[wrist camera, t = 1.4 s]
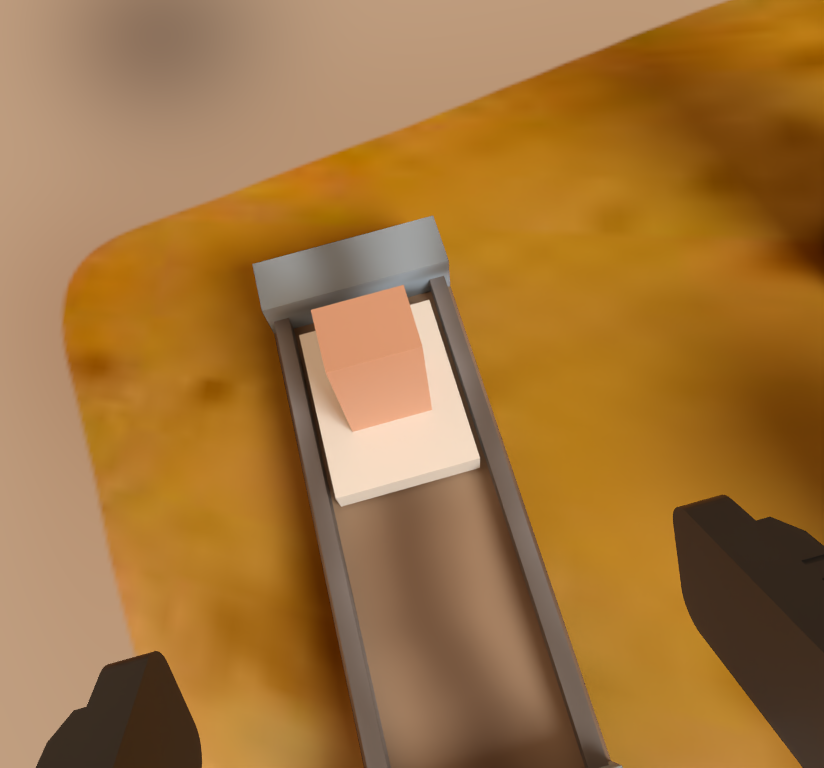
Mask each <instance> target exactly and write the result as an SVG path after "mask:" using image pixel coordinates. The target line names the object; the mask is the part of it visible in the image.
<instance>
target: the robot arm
mask: <svg viewBox="0 0 824 768" xmlns="http://www.w3.org/2000/svg"><path fill="white" fill-rule="evenodd" d="M673 524H674V532H675V540H676V548H677V556H678V564H679V572H680V580H681V587H682V593H683V597H684V601H685V604H686V607H687V609H688V612H689V614H690V616H691V619H692V621H693V623H694V624H695V626H696V628H697V629H698V631H699V632H700V634H701V635H702V636H703V638H704V639H705V640H706V641H707V643H708V644H709V645H710V647H711V648H712V649H713V651H714V652H715V653H716V655H717V656H718V657H719V658H720V660H721V661H722V662H723V664H724V665H725V666H726V668H727V669H728V670H729V672H730V673H731V674H732V675H733V677H734V678H735V679H736V681H737V682H738V683H739V685H740V686H741V687H742V689H743V690H744V691H745V692H746V694H747V695H748V696H749V698H750V699H751V700H752V702H753V703H754V704H755V706H756V707H757V708H758V709H759V711H760V712H761V713H762V715H763V716H764V717H765V719H766V720H767V721H768V723H769V724H770V725H771V726H772V728H773V729H774V730H775V732H776V733H777V734H778V736H779V737H780V738H781V740H782V741H783V742H784V743H785V745H786V746H787V747H788V749H789V750H790V751H791V753H792V754H793V755H794V757H795V758H796V759H797V760H798V762H799V763H800V764H801V766H802V767H803V768H824V546H823V545H822V544H821V543H819V542H818V541H817V540H816V539H815V538H813V537H812V536H811V535H810V534H808V533H807V532H806V531H804V530H802V529H799V528H797V527H794V526H792V525H789V524H787V523H784V522H782V521H779V520H777V519H774V518H772V517H767V518H764V519H760V520H757V521H756V520H754V519H753V518H752V517H751V516H750V515H749V514H748V513H747V512H745V511H744V510H743V509H742V508H741V507H740V506H739V505H737V504H736V503H735V502H734V501H733V500H732V499H731V498H729V497H728V496H726V495H719V496H716V497H712V498H709V499H705V500H702V501H698V502H694V503H691V504H687V505H684V506H680V507H676V508H675V510H674V512H673ZM36 768H202V753H201V744H200V738H199V734H198V731H197V728H196V725H195V723H194V721H193V718H192V716H191V714H190V712H189V709H188V707H187V705H186V703H185V701H184V698H183V696H182V694H181V692H180V689H179V687H178V685H177V683H176V681H175V678H174V676H173V674H172V672H171V670H170V667H169V665H168V663H167V661H166V659H165V658H164V656H163V655H162V654H161V653H160V652H158V651H154V652H151V653H147V654H144V655H140V656H136V657H133V658H129V659H126V660H122V661H119V662H115V663H112V664H108V665H106V666H105V667H104V668H103V669H102V671H101V673H100V675H99V677H98V680H97V682H96V685H95V687H94V690H93V692H92V695H91V697H90V700H89V702H88V704H87V707H84V708H81V709H78V710H74V711H73V712H72V713H71V714H70V716H69V717H68V718H67V719H66V721H65V722H64V723H63V724H62V725H61V727H60V728H59V729H58V730H57V731H56V733H55V734H54V735H53V736H52V737H51V739H50V740H49V741H48V742H47V744H46V746H45V748H44V751H43V753H42V755H41V757H40V760H39V762H38V764H37V766H36Z"/></svg>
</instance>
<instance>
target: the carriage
mask: <svg viewBox="0 0 824 768" xmlns="http://www.w3.org/2000/svg"><path fill="white" fill-rule="evenodd" d="M311 313H312V317H313V322H314V326H315V330H316V331H313V332H309V333H305V334H302V335H299V337H300V342H301V346H302V350H303V355H304V359H305V364H306V368H307V373H308V377H309V382H310V386H311V391H312V395H313V400H314V404H315V409H316V413H317V417H318V422H319V426H320V431H321V435H322V440H323V444H324V449H325V453H326V458H327V462H328V467H329V471H330V476H331V480H332V484H333V489H334V493H335V498H336V500H337V501H338V503H339V504H340V506H341V507H342V506H346V505H349V504H353V503H356V502H360V501H363V500H367V499H371V498H374V497H378V496H381V495H385V494H388V493H392V492H396V491H399V490H403V489H406V488H410V487H413V486H417V485H420V484H424V483H428V482H431V481H435V480H438V479H442V478H445V477H449V476H453V475H456V474H460V473H463V472H467V471H470V470H474V469H477V468H480V456H479V453H478V450H477V447H476V444H475V441H474V438H473V435H472V432H471V428H470V425H469V422H468V419H467V416H466V413H465V410H464V407H463V403H462V400H461V397H460V394H459V391H458V388H457V385H456V382H455V378H454V375H453V372H452V369H451V366H450V363H449V360H448V357H447V354H446V350H445V347H444V344H443V341H442V338H441V335H440V332H439V329H438V325H437V322H436V319H435V316H434V313H433V310H432V307H431V304H430V300H426V301H423V302H419V303H415V304H412V305H410V304H409V301H408V297H407V294H406V291H405V288H404V285H401V286H397V287H393V288H390V289H386V290H382V291H379V292H375V293H371V294H368V295H364V296H360V297H357V298H353V299H349V300H346V301H342V302H338V303H335V304H331V305H327V306H324V307H320V308H316V309H312V310H311Z"/></svg>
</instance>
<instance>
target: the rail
mask: <svg viewBox="0 0 824 768" xmlns="http://www.w3.org/2000/svg"><path fill="white" fill-rule="evenodd" d="M252 265H253V269H254V274H255V279H256V284H257V289H258V294H259V299H260V304H261V309H262V312H263V314H264V316H265V318H266V319H267V321H268V323H269V325H270V327H271V329H272V330H273V332H274V334H275V339H276V344H277V349H278V354H279V359H280V363H281V368H282V373H283V378H284V383H285V388H286V392H287V397H288V402H289V407H290V412H291V416H292V421H293V426H294V431H295V436H296V441H297V445H298V450H299V455H300V460H301V465H302V470H303V474H304V479H305V484H306V489H307V494H308V498H309V503H310V508H311V513H312V518H313V523H314V527H315V532H316V537H317V542H318V547H319V552H320V556H321V561H322V566H323V571H324V576H325V581H326V585H327V590H328V595H329V600H330V605H331V609H332V614H333V619H334V624H335V629H336V634H337V638H338V643H339V648H340V653H341V658H342V663H343V667H344V672H345V677H346V682H347V687H348V691H349V696H350V701H351V706H352V711H353V716H354V720H355V725H356V730H357V735H358V740H359V745H360V749H361V754H362V759H363V764H364V768H623V767H622V765H620V764H617V763H615V762H612V761H611V760H610V757H609V754H608V751H607V748H606V745H605V742H604V739H603V736H602V733H601V730H600V727H599V724H598V722H597V719H596V716H595V713H594V710H593V707H592V704H591V701H590V698H589V695H588V692H587V689H586V686H585V683H584V680H583V677H582V674H581V671H580V668H579V665H578V662H577V659H576V656H575V654H574V651H573V648H572V645H571V642H570V639H569V636H568V633H567V630H566V627H565V624H564V621H563V618H562V615H561V612H560V609H559V606H558V603H557V600H556V597H555V594H554V591H553V589H552V586H551V583H550V580H549V577H548V574H547V571H546V568H545V565H544V562H543V559H542V556H541V553H540V550H539V547H538V544H537V541H536V538H535V535H534V532H533V529H532V526H531V523H530V521H529V518H528V515H527V512H526V509H525V506H524V503H523V500H522V497H521V494H520V491H519V488H518V485H517V482H516V479H515V476H514V473H513V470H512V467H511V464H510V461H509V458H508V456H507V453H506V450H505V447H504V444H503V441H502V438H501V435H500V432H499V429H498V426H497V423H496V420H495V417H494V414H493V411H492V408H491V405H490V402H489V399H488V396H487V393H486V391H485V388H484V385H483V382H482V379H481V376H480V373H479V370H478V367H477V364H476V361H475V358H474V355H473V352H472V349H471V346H470V343H469V340H468V337H467V334H466V331H465V328H464V325H463V323H462V320H461V317H460V314H459V311H458V308H457V305H456V302H455V299H454V296H453V293H452V290H451V287H450V276H449V261H448V258H447V255H446V252H445V249H444V246H443V243H442V240H441V237H440V234H439V231H438V229H437V226H436V223H435V220H434V217H433V216H430V217H426V218H422V219H419V220H415V221H411V222H408V223H404V224H400V225H396V226H393V227H389V228H385V229H382V230H378V231H374V232H370V233H367V234H363V235H359V236H355V237H352V238H348V239H344V240H341V241H337V242H333V243H329V244H326V245H322V246H318V247H315V248H311V249H307V250H303V251H300V252H296V253H292V254H288V255H285V256H281V257H277V258H274V259H270V260H266V261H262V262H259V263H255V264H252ZM401 285H404V288H405V291H406V294H407V297H408V301H409V304H410V305H412V304H415V303H419V302H423V301H426V300H430V304H431V307H432V310H433V313H434V316H435V319H436V322H437V325H438V329H439V332H440V335H441V338H442V341H443V344H444V347H445V350H446V354H447V357H448V360H449V363H450V366H451V369H452V372H453V375H454V378H455V382H456V385H457V388H458V391H459V394H460V397H461V400H462V403H463V407H464V410H465V413H466V416H467V419H468V422H469V425H470V428H471V432H472V435H473V438H474V441H475V444H476V447H477V450H478V453H479V456H480V468H477V469H474V470H470V471H467V472H463V473H460V474H456V475H453V476H449V477H445V478H442V479H438V480H435V481H431V482H428V483H424V484H420V485H417V486H413V487H410V488H406V489H403V490H399V491H396V492H392V493H388V494H385V495H381V496H378V497H374V498H371V499H367V500H363V501H360V502H356V503H353V504H349V505H346V506H342V507H341V506H340V504H339V503H338V501H337V500H336V498H335V493H334V489H333V484H332V480H331V476H330V471H329V467H328V462H327V458H326V453H325V449H324V444H323V440H322V435H321V431H320V426H319V422H318V417H317V413H316V409H315V404H314V400H313V395H312V391H311V386H310V382H309V377H308V373H307V368H306V364H305V359H304V355H303V350H302V346H301V342H300V337H299V335H302V334H305V333H309V332H313V331H316V330H315V326H314V322H313V317H312V313H311V310H312V309H316V308H320V307H324V306H327V305H331V304H335V303H338V302H342V301H346V300H349V299H353V298H357V297H360V296H364V295H368V294H371V293H375V292H379V291H382V290H386V289H390V288H393V287H397V286H401Z"/></svg>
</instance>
